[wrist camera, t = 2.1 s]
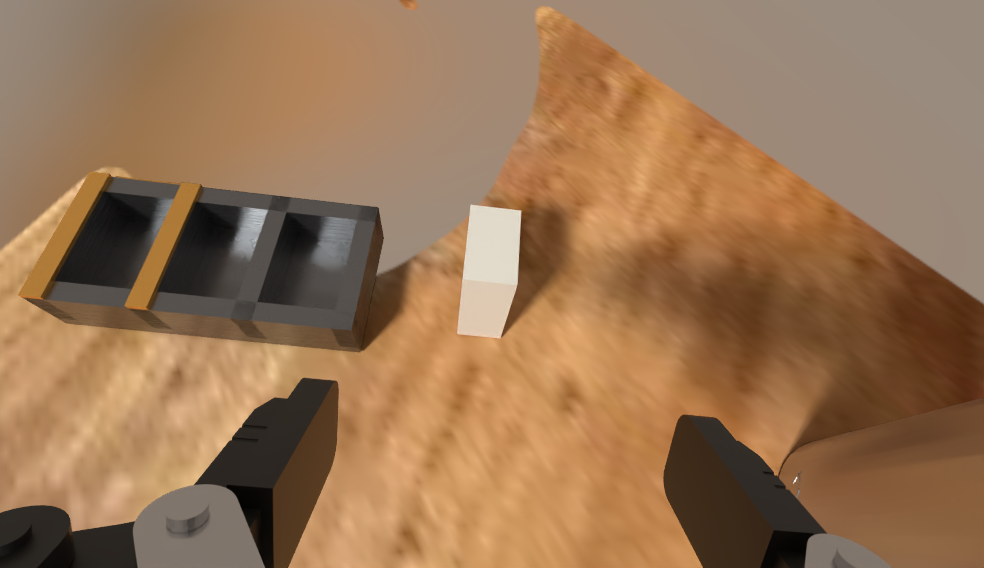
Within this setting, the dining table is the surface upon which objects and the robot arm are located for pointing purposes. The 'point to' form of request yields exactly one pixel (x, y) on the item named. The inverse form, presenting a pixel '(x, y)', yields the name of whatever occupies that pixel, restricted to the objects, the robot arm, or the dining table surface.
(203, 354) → the dining table surface
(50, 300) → the slot rack
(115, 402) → the dining table surface
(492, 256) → the white rectangular block
